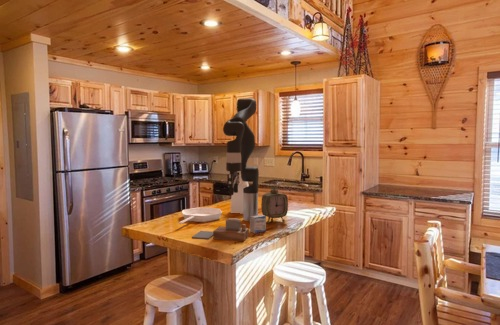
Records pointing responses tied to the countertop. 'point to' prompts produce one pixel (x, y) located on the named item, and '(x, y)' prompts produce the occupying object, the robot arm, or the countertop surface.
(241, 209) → the milk
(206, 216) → the pan
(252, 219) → the medicine box
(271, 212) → the tabletop clock
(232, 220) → the lever cap
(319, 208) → the countertop surface
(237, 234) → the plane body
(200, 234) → the rubber mat
